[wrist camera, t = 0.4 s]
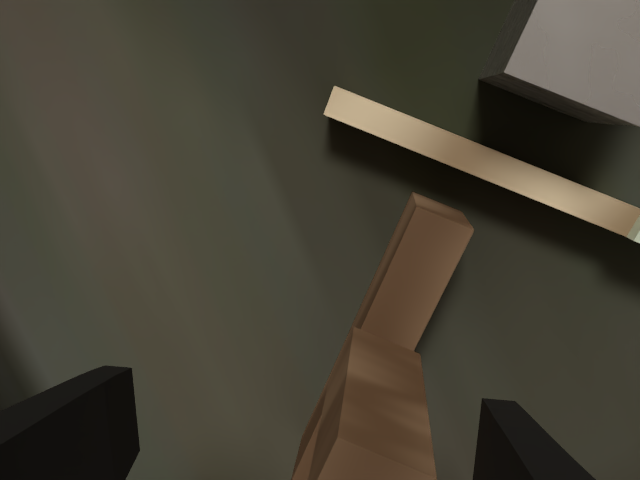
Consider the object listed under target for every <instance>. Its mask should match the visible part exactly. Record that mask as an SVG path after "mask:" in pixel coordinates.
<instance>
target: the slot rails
mask: <svg viewBox="0 0 640 480" xmlns="http://www.w3.org/2000/svg"><path fill="white" fill-rule="evenodd" d="M324 115H326V116H328V117H331V118H333V119H336V120H338V121H341V122H343V123H346V124H348V125H351V126H353V127H356V128H358V129H361V130H363V131H365V132H368V133H370V134H373V135H375V136H378V137H380V138H383V139H385V140H388V141H390V142H393V143H395V144H398V145H400V146H403V147H405V148H408V149H410V150H413V151H415V152H417V153H420V154H422V155H425V156H427V157H430V158H432V159H435V160H437V161H440V162H442V163H445V164H447V165H450V166H452V167H455V168H457V169H460V170H462V171H464V172H467V173H469V174H472V175H474V176H477V177H479V178H482V179H484V180H487V181H489V182H492V183H494V184H497V185H499V186H502V187H504V188H507V189H509V190H512V191H514V192H516V193H519V194H521V195H524V196H526V197H529V198H531V199H534V200H536V201H539V202H541V203H544V204H546V205H549V206H551V207H554V208H556V209H559V210H561V211H563V212H566V213H568V214H571V215H573V216H576V217H578V218H581V219H583V220H586V221H588V222H591V223H593V224H596V225H598V226H601V227H603V228H606V229H608V230H610V231H613V232H615V233H618V234H620V235H623V236H625V237H627V235H628V234H629V232H630V230H631V229H632V227H633V225H634V224H635V222H636V220H637V219H638V217H639V215H640V209H639V208H637V207H634V206H632V205H630V204H627V203H625V202H622V201H620V200H617V199H615V198H612V197H610V196H607V195H605V194H602V193H600V192H597V191H595V190H593V189H590V188H588V187H585V186H583V185H580V184H578V183H575V182H573V181H570V180H568V179H565V178H563V177H560V176H558V175H555V174H553V173H550V172H548V171H545V170H543V169H540V168H538V167H535V166H533V165H530V164H528V163H525V162H523V161H520V160H518V159H515V158H513V157H511V156H508V155H506V154H503V153H501V152H498V151H496V150H493V149H491V148H488V147H486V146H483V145H481V144H478V143H476V142H473V141H471V140H468V139H466V138H463V137H461V136H458V135H456V134H453V133H451V132H448V131H446V130H443V129H441V128H438V127H436V126H433V125H431V124H429V123H426V122H424V121H421V120H419V119H416V118H414V117H411V116H409V115H406V114H404V113H401V112H399V111H396V110H394V109H391V108H389V107H386V106H384V105H381V104H379V103H376V102H374V101H371V100H369V99H366V98H364V97H361V96H359V95H356V94H354V93H352V92H349V91H347V90H344V89H342V88H339V87H336V86H334V88H333V90H332V93H331V96H330V99H329V101H328V104H327V107H326V109H325V112H324Z"/></svg>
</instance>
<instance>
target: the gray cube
mask: <svg viewBox="0 0 640 480" xmlns="http://www.w3.org/2000/svg"><path fill="white" fill-rule="evenodd" d="M479 80H481V81H484V82H486V83H489V84H491V85H494V86H496V87H499V88H501V89H504V90H506V91H509V92H511V93H514V94H516V95H519V96H521V97H524V98H526V99H529V100H531V101H534V102H536V103H539V104H541V105H544V106H546V107H549V108H551V109H554V110H556V111H559V112H561V113H564V114H566V115H569V116H571V117H574V118H576V119H579V120H581V121H584V122H591V123H602V124H614V125H625V126H637V127H640V0H514V3H513V5H512V7H511V9H510V11H509V14H508V16H507V18H506V20H505V22H504V24H503V27H502V29H501V31H500V33H499V35H498V37H497V40H496V42H495V44H494V46H493V48H492V51H491V53H490V55H489V57H488V59H487V61H486V64H485V66H484V68H483V70H482V72H481V75H480V77H479Z"/></svg>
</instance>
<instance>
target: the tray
mask: <svg viewBox="0 0 640 480" xmlns="http://www.w3.org/2000/svg"><path fill="white" fill-rule="evenodd" d="M634 207H635V206H634ZM639 209H640V208H639ZM627 238H629V239H631V240H633V241H635V242H638V243H640V215H639V217H638V219H637V220H636V222H635V224H634V225H633V227H632V229H631V230H630V232H629V234H628V235H627Z"/></svg>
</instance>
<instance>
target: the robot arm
mask: <svg viewBox="0 0 640 480" xmlns="http://www.w3.org/2000/svg"><path fill="white" fill-rule="evenodd" d="M139 451H140V447H139V437H138V427H137V417H136V406H135V396H134V386H133V376H132V368H127V367H115V366H102V367H99V368H97V369H94V370H91V371H89V372H86V373H84V374H81V375H79V376H77V377H74V378H72V379H70V380H68V381H65V382H63V383H61V384H59V385H57V386H54V387H52V388H50V389H48V390H46V391H44V392H41V393H39V394H37V395H35V396H33V397H31V398H28V399H26V400H24V401H22V402H20V403H17V404H15V405H13V406H11V407H9V408H7V409H4V410H2V411H0V480H125V479H126V477H127V475H128V473H129V471H130V469H131V467H132V465H133V463H134V461H135V459H136V457H137V455H138V453H139ZM473 480H596V479H594V478H593V477H592V476H591V475H590V474H589V473H588V472H587V471H586V470H585V469H584V468H583V467H582V466H581V465H579V464H578V463H577V462H576V461H575V460H574V459H573V458H572V457H571V456H570V455H569V454H568V453H567V452H566V451H565V450H564V449H563V448H562V447H561V446H560V445H559V444H558V443H557V442H556V441H555V440H554V439H553V438H552V437H551V436H550V435H549V434H548V433H547V432H546V431H545V430H544V429H543V428H542V427H541V426H540V425H539V424H538V423H537V422H536V421H535V420H534V419H533V418H532V417H531V416H530V415H529V414H528V413H527V412H526V411H525V410H524V409H523V408H522V407H521V406H520V405H519V404H517V403H516V402H515V401H507V400H495V399H484V398H482V404H481V413H480V421H479V430H478V439H477V448H476V456H475V465H474V474H473Z"/></svg>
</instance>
